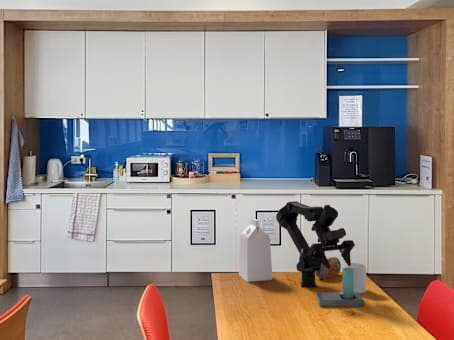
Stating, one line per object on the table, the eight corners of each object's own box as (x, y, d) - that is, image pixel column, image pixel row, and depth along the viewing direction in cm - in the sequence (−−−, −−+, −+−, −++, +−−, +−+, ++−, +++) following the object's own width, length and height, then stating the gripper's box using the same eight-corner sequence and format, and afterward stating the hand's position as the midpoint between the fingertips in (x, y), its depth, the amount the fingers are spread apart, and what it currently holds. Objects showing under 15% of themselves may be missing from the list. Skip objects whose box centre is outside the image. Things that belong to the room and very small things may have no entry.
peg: (341, 304, 218) (340, 269, 217) (344, 301, 222) (344, 267, 221) (351, 305, 216) (351, 270, 215) (355, 302, 219) (355, 268, 219)
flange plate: (316, 298, 225) (316, 292, 225) (358, 298, 225) (358, 291, 224) (319, 306, 215) (319, 299, 215) (363, 306, 215) (363, 299, 214)
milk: (272, 279, 256) (271, 220, 254) (247, 281, 253) (246, 222, 251) (263, 273, 267) (262, 216, 266) (238, 275, 264) (238, 218, 262)
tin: (319, 280, 253) (319, 261, 252) (314, 279, 255) (313, 260, 254) (341, 274, 263) (341, 256, 262) (335, 273, 265) (335, 255, 264)
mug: (368, 293, 232) (368, 267, 231) (348, 293, 231) (348, 267, 231) (360, 285, 244) (360, 260, 243) (341, 285, 244) (341, 260, 243)
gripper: (311, 223, 223) (327, 257, 214) (352, 219, 230) (369, 252, 221) (300, 239, 231) (315, 273, 221) (340, 236, 238) (356, 268, 229)
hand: (339, 266), depth 223 cm, fingers open, 9 cm apart
